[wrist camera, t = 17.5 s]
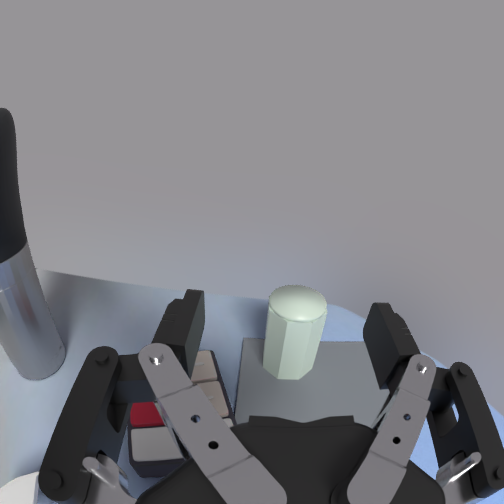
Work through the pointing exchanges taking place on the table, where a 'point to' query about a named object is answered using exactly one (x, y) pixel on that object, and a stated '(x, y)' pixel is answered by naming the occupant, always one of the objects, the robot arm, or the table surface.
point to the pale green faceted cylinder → (293, 331)
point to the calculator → (156, 433)
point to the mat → (311, 386)
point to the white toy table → (21, 490)
